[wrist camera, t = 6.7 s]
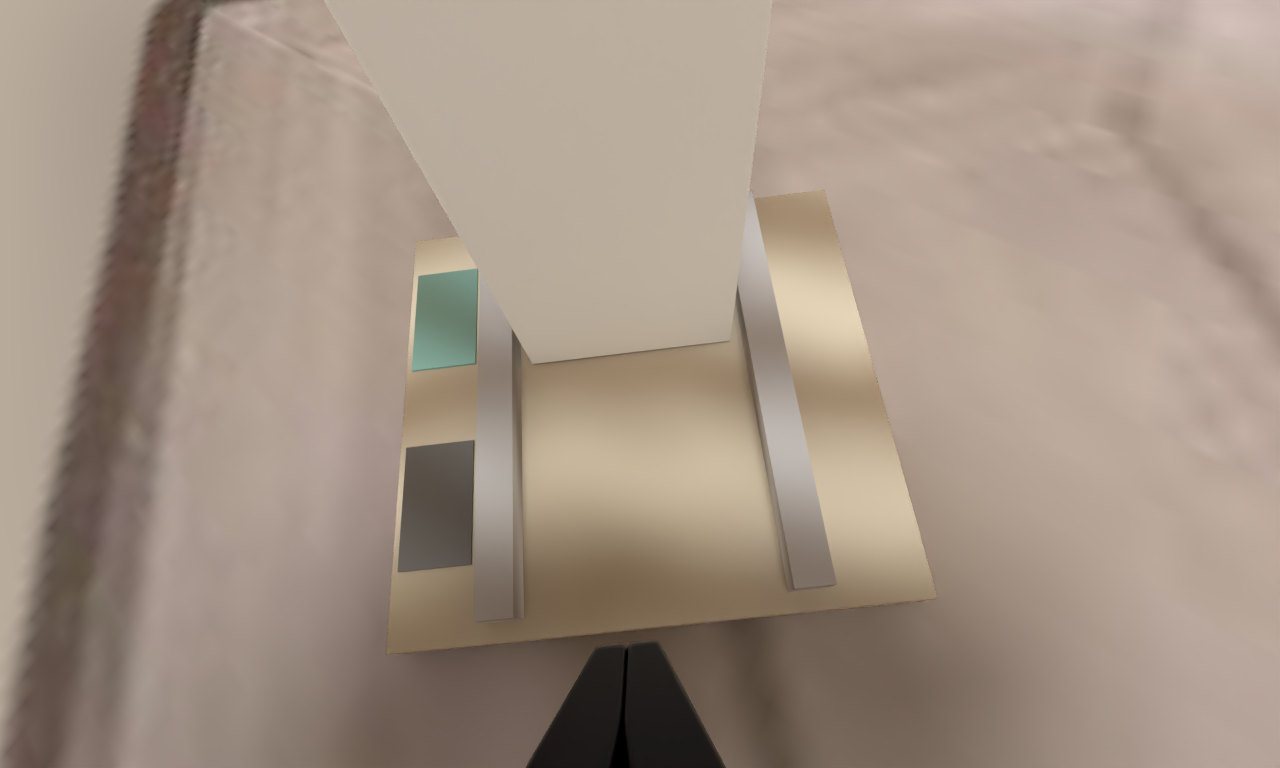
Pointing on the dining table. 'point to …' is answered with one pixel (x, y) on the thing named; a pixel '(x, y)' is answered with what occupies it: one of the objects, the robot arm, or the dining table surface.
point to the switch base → (648, 462)
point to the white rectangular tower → (582, 154)
